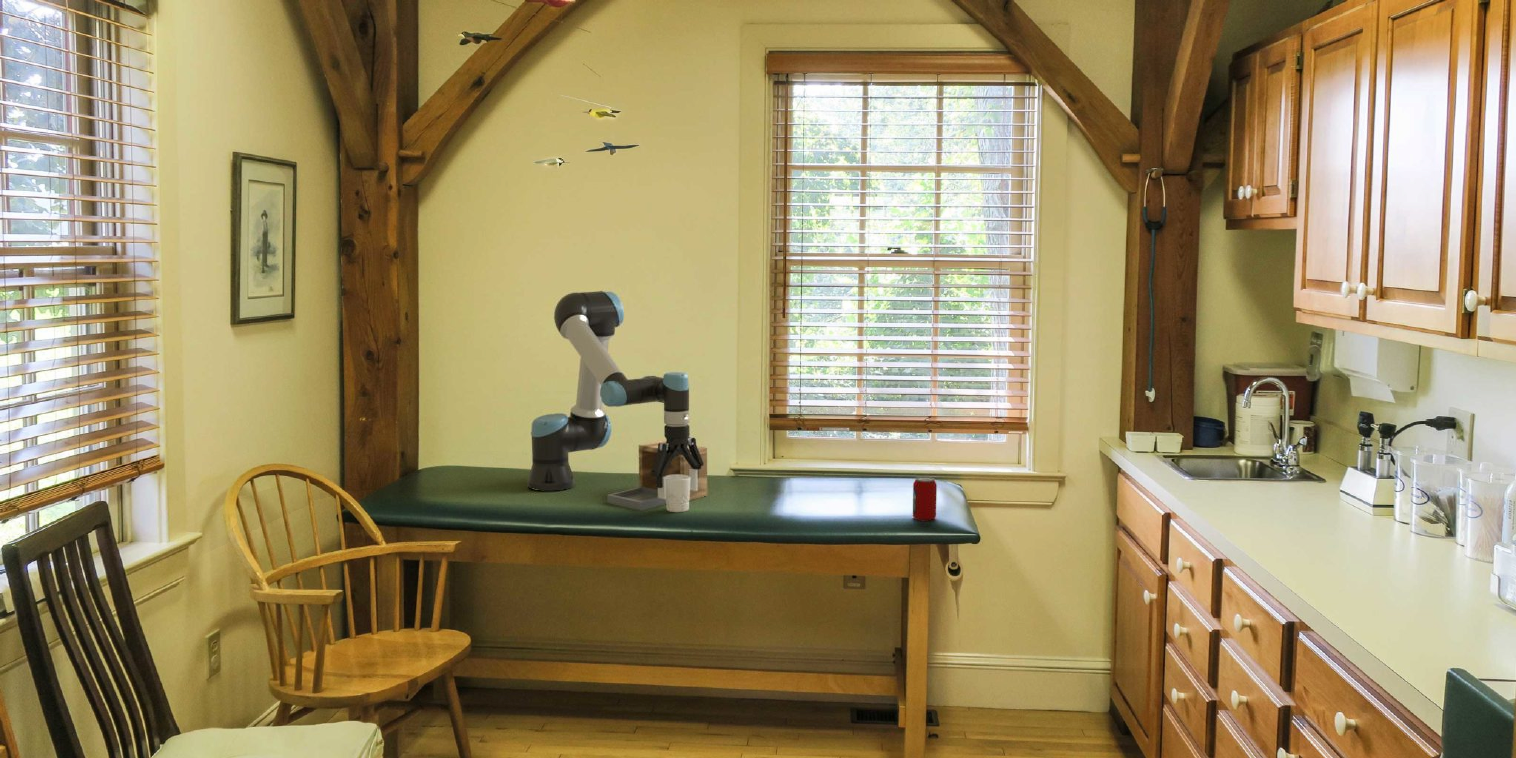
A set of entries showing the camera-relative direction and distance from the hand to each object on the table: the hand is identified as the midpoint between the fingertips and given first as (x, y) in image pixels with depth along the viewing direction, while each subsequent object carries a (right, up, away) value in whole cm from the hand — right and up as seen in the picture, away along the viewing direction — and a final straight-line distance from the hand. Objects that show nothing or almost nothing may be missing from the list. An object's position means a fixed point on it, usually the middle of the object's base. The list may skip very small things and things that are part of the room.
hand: (678, 494), depth 347 cm
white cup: (0, -5, +1) cm, 5 cm away
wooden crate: (-3, -2, +20) cm, 21 cm away
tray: (-12, -3, +10) cm, 16 cm away
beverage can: (+73, -6, -10) cm, 74 cm away
